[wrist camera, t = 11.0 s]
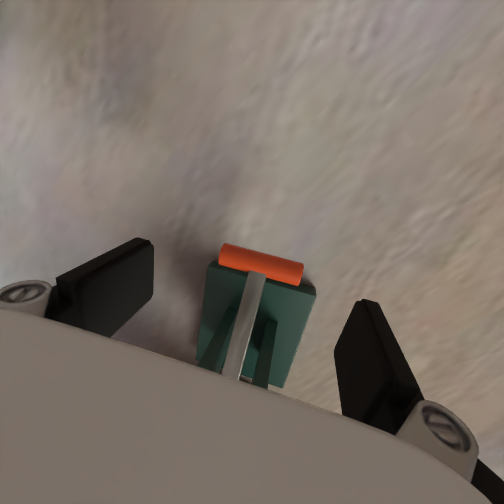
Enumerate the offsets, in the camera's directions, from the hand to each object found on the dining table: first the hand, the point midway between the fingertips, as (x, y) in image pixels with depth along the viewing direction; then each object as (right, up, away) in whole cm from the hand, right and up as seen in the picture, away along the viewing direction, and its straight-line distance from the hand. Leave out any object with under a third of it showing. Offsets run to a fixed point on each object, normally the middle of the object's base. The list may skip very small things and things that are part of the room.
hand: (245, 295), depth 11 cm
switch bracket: (0, -5, +14) cm, 15 cm away
